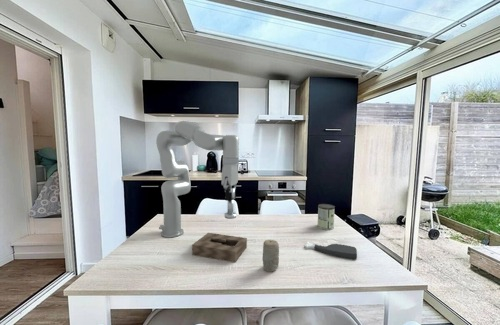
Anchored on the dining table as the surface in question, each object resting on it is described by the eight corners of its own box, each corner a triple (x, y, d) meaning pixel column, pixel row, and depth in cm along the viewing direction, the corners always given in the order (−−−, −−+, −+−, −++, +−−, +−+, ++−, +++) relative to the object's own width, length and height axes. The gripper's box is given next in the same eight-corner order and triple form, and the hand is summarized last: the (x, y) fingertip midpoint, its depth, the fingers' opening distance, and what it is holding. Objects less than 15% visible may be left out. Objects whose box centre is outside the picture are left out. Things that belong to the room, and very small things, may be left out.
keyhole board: (192, 254, 109) (192, 244, 109) (208, 241, 124) (208, 232, 124) (235, 262, 103) (235, 251, 102) (246, 247, 118) (246, 238, 117)
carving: (259, 269, 97) (259, 241, 96) (270, 263, 103) (271, 236, 102) (270, 275, 93) (271, 246, 92) (281, 268, 98) (282, 241, 97)
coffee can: (319, 223, 157) (320, 203, 156) (335, 226, 151) (336, 205, 150) (315, 227, 148) (316, 206, 147) (331, 231, 143) (332, 208, 142)
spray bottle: (356, 261, 106) (303, 251, 116) (356, 251, 116) (307, 243, 126) (357, 255, 106) (303, 246, 115) (356, 246, 116) (307, 238, 125)
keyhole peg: (222, 218, 109) (222, 188, 108) (227, 214, 114) (227, 186, 113) (233, 219, 107) (233, 189, 106) (237, 215, 112) (238, 187, 111)
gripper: (230, 160, 118) (229, 195, 119) (215, 162, 102) (215, 202, 103) (243, 160, 116) (243, 196, 117) (231, 162, 100) (231, 204, 101)
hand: (230, 199), depth 110 cm, fingers closed on keyhole peg, 4 cm apart
